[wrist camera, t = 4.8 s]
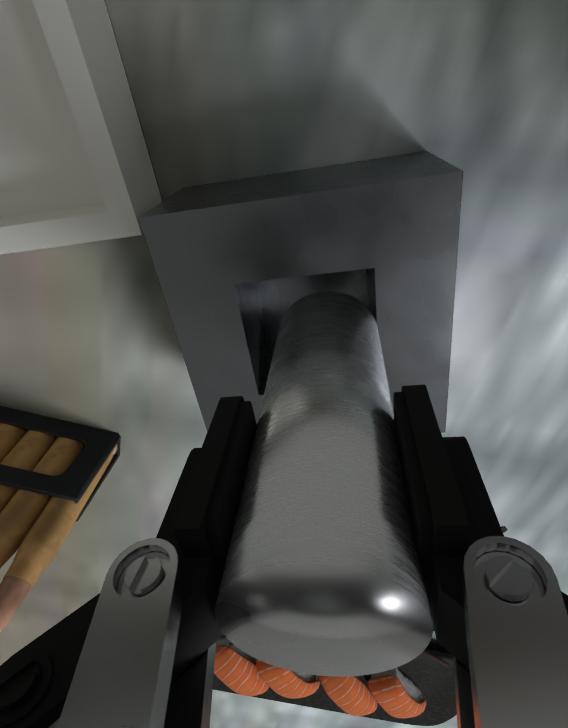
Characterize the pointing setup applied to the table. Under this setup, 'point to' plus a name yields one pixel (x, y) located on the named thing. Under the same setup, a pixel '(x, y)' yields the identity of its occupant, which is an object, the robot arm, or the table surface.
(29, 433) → the ammunition clip
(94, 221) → the tray
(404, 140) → the table surface
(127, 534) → the table surface
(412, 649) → the pin
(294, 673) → the sushi plate
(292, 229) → the pin block
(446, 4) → the table surface
